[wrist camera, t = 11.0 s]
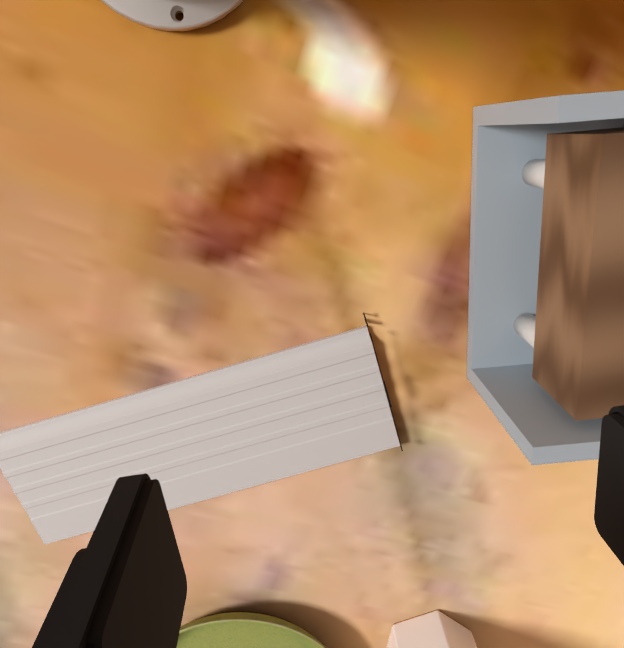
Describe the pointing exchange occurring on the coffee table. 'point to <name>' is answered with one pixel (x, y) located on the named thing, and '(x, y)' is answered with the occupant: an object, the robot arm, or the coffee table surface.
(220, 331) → the coffee table surface
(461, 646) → the jar
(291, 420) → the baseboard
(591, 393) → the shelf board
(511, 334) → the peg frame
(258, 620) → the saucer
